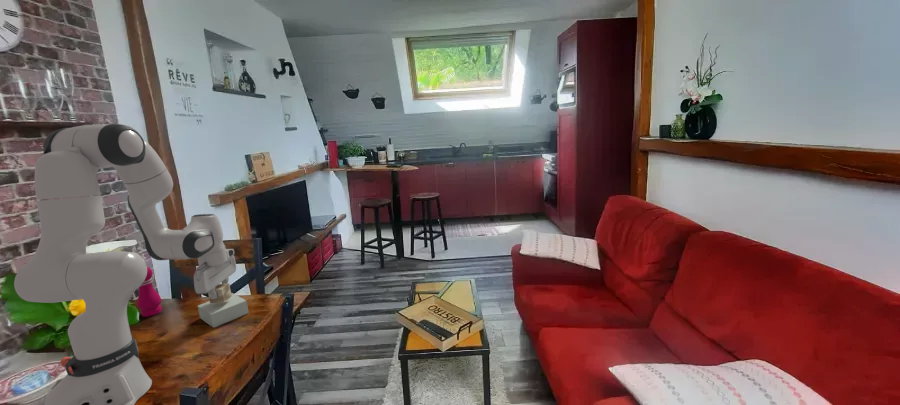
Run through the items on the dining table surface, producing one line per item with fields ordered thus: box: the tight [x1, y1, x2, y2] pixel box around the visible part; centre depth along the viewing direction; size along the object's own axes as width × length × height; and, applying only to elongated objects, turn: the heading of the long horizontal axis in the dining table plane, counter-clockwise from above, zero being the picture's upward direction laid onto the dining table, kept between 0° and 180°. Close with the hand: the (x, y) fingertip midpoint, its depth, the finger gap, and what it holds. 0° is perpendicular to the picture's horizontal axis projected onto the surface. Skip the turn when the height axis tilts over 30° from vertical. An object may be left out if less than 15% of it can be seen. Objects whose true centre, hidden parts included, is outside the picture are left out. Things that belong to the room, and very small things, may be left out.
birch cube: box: [207, 282, 232, 303], centre depth 140 cm, size 5×5×5 cm
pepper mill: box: [136, 266, 163, 318], centre depth 145 cm, size 7×7×20 cm
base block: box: [197, 292, 250, 329], centre depth 141 cm, size 12×12×5 cm
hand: (220, 294), depth 140 cm, fingers closed on birch cube, 5 cm apart
